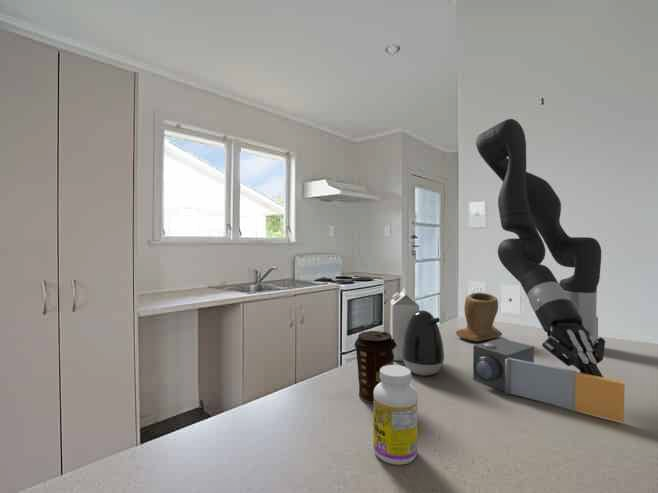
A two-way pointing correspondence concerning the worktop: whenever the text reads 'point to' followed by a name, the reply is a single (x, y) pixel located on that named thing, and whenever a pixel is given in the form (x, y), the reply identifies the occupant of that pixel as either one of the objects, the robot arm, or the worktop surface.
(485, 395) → the worktop surface
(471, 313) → the clay pot
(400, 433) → the supplement bottle
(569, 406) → the grey and orange bar
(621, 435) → the worktop surface
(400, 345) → the milk carton
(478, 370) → the camera body
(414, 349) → the pump dispenser
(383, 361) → the coffee cup
